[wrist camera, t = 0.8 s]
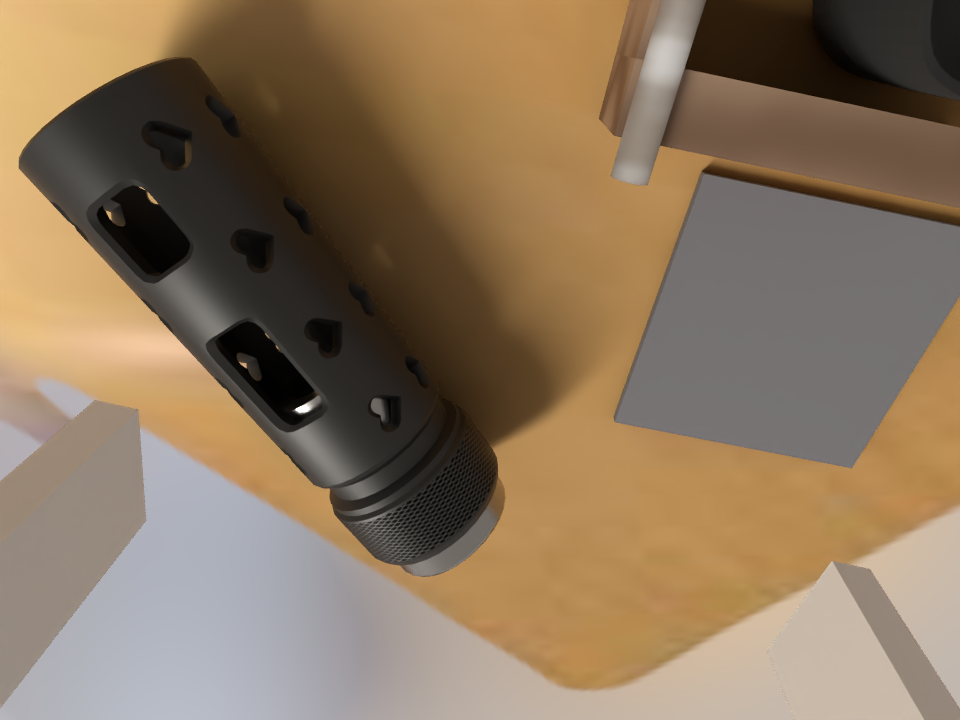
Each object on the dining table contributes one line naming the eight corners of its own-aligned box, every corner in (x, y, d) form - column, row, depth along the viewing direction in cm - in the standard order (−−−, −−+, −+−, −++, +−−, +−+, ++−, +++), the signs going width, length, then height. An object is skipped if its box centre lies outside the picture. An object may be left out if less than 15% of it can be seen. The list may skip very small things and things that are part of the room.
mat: (701, 171, 32) (704, 173, 31) (990, 231, 32) (997, 234, 32) (613, 417, 39) (614, 422, 39) (847, 462, 40) (851, 468, 39)
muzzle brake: (239, 48, 30) (117, 53, 21) (518, 438, 41) (516, 553, 32) (115, 150, 33) (-37, 193, 24) (406, 490, 44) (375, 610, 35)
